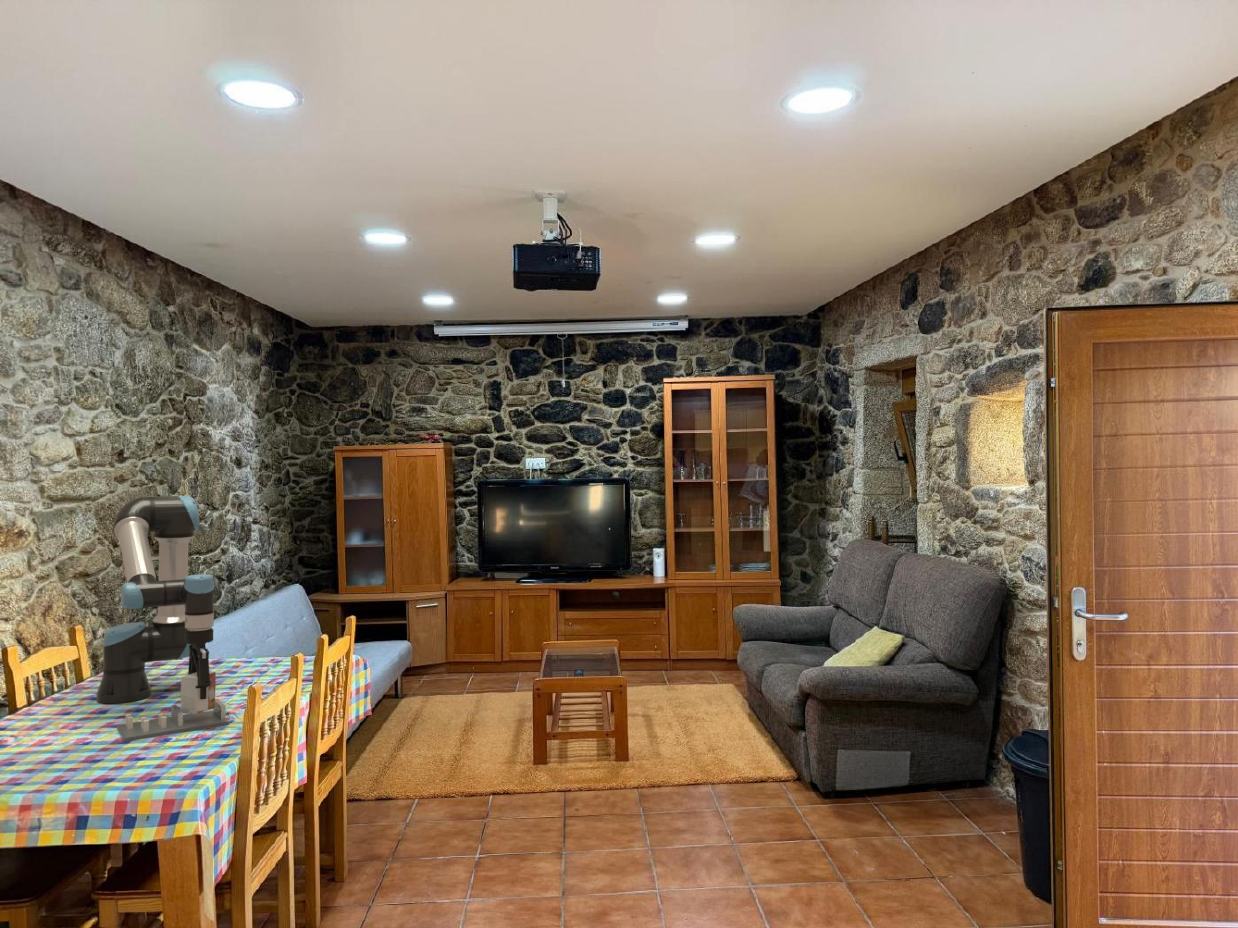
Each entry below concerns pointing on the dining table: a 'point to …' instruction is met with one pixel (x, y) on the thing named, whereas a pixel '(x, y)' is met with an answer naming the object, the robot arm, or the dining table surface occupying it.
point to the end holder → (178, 714)
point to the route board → (167, 725)
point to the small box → (195, 693)
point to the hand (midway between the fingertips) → (198, 706)
